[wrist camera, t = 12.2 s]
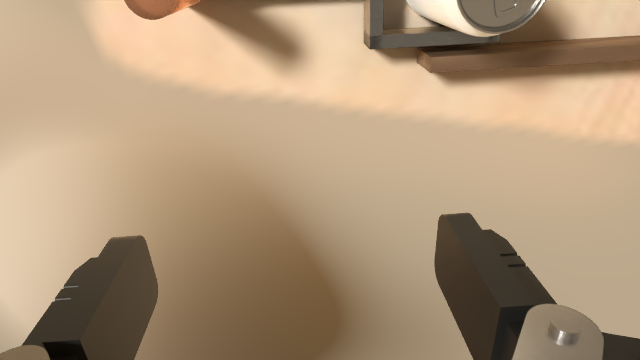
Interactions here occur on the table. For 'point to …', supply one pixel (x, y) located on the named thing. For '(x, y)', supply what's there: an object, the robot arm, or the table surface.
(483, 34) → the can
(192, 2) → the pull frame
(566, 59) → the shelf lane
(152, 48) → the table surface
